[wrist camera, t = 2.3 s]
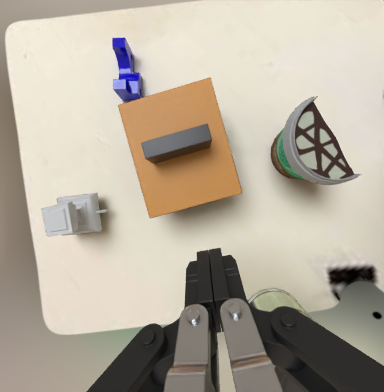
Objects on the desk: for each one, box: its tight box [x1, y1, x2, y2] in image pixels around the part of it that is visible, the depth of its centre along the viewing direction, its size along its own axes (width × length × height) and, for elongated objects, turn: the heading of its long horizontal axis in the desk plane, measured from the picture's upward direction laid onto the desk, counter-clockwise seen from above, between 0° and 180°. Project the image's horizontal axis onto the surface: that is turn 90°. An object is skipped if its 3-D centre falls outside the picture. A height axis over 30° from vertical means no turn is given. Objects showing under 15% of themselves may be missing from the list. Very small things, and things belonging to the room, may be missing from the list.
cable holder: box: [113, 38, 142, 101], centre depth 33 cm, size 8×4×4 cm, turn 0°
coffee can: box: [248, 289, 315, 392], centre depth 29 cm, size 10×10×14 cm
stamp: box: [41, 193, 108, 237], centre depth 32 cm, size 9×7×8 cm
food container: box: [271, 96, 361, 185], centre depth 30 cm, size 12×6×10 cm, turn 29°
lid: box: [118, 78, 242, 218], centre depth 25 cm, size 16×13×5 cm
